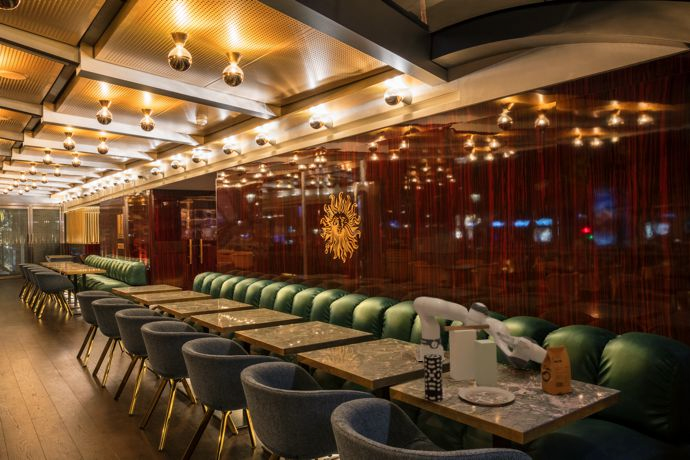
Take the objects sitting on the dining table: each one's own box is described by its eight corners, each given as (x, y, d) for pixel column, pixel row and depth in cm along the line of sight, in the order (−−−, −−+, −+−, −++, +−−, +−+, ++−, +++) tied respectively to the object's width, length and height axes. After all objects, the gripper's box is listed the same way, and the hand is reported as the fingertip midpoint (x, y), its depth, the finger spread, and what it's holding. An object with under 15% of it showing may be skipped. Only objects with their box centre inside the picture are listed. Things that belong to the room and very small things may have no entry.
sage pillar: (475, 383, 256) (474, 340, 257) (489, 381, 258) (488, 339, 258) (482, 387, 249) (481, 343, 249) (497, 386, 250) (496, 342, 251)
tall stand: (450, 376, 269) (449, 329, 269) (471, 375, 271) (469, 327, 272) (456, 381, 261) (455, 331, 261) (477, 379, 263) (476, 330, 264)
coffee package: (538, 389, 243) (537, 344, 243) (560, 387, 246) (558, 343, 246) (552, 395, 233) (550, 349, 234) (574, 393, 236) (572, 347, 237)
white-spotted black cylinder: (421, 397, 234) (420, 355, 235) (436, 395, 238) (434, 353, 238) (431, 402, 227) (430, 359, 227) (446, 400, 230) (445, 357, 231)
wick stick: (444, 330, 266) (444, 326, 266) (487, 327, 271) (487, 324, 271) (446, 331, 263) (445, 327, 263) (489, 328, 268) (489, 324, 268)
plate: (447, 394, 239) (447, 390, 239) (491, 388, 248) (491, 384, 248) (480, 411, 215) (479, 406, 215) (527, 403, 224) (527, 398, 224)
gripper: (529, 354, 262) (508, 343, 260) (509, 346, 282) (489, 336, 280) (534, 343, 263) (513, 332, 260) (514, 336, 283) (494, 326, 281)
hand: (500, 334), depth 270 cm, fingers open, 8 cm apart
